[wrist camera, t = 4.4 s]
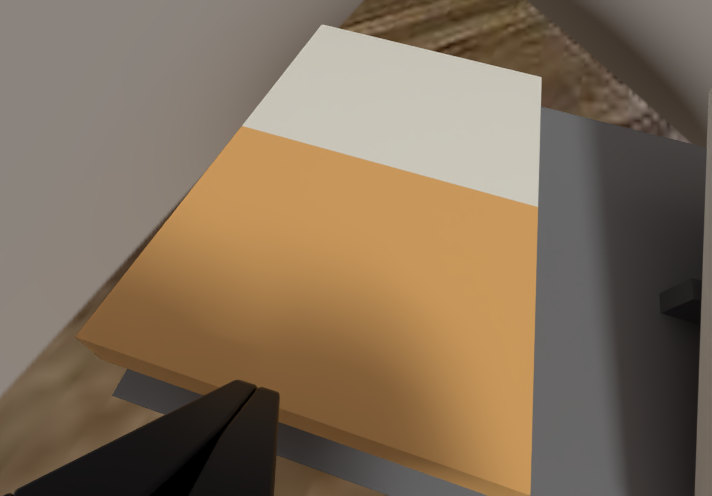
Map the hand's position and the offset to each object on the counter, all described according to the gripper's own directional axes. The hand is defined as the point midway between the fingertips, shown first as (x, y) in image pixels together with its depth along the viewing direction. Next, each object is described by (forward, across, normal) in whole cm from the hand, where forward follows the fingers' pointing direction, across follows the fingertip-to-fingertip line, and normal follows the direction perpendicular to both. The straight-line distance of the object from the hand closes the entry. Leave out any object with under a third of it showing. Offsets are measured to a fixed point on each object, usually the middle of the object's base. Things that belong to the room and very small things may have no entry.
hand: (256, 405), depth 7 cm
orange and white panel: (+8, -1, -3) cm, 8 cm away
